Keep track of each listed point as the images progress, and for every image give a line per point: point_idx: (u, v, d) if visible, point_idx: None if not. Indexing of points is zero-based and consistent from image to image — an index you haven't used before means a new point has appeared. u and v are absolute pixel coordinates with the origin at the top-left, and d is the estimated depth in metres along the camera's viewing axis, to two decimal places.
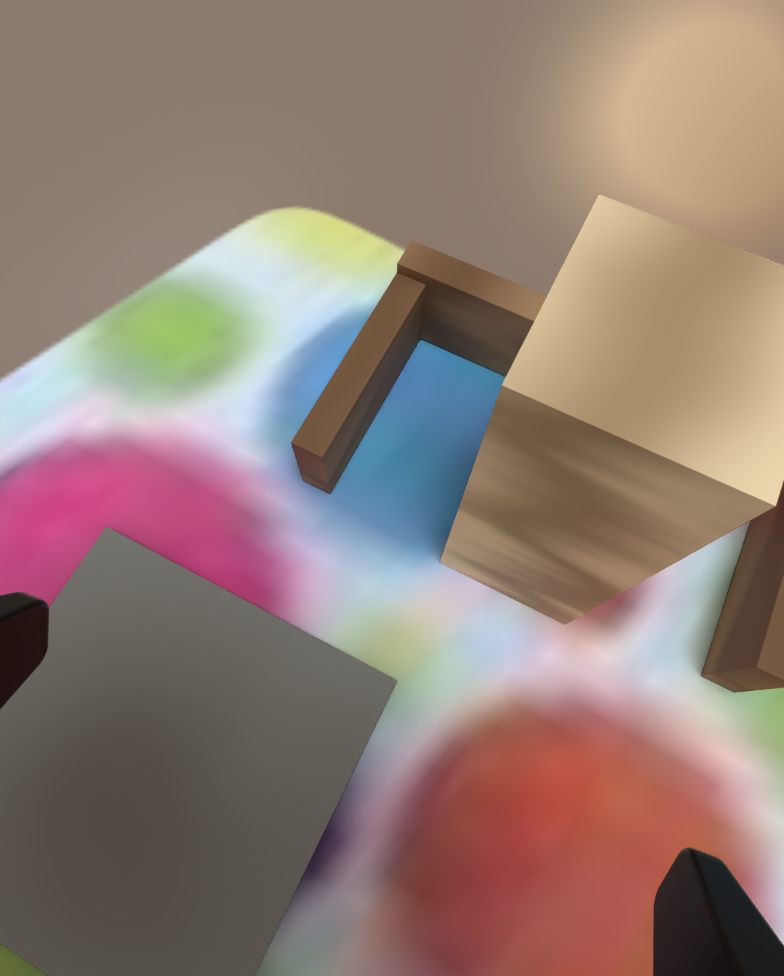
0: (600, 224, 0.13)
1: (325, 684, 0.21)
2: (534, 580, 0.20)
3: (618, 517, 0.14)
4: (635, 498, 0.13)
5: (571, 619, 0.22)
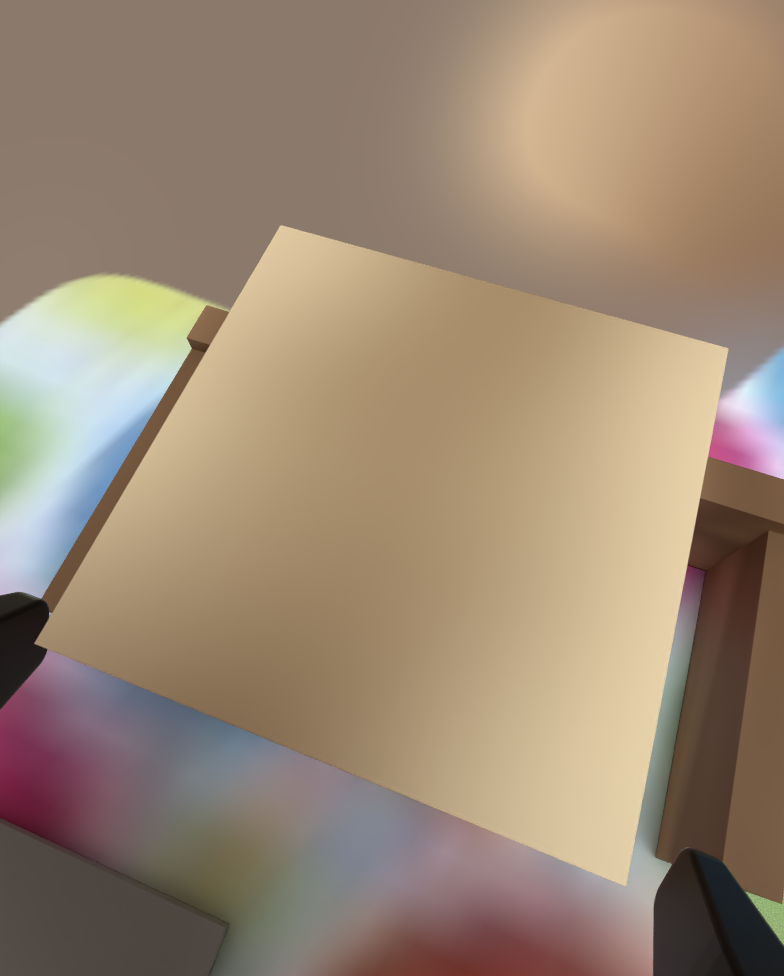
0: (278, 278, 0.07)
1: (121, 948, 0.15)
2: None
3: None
4: None
5: None
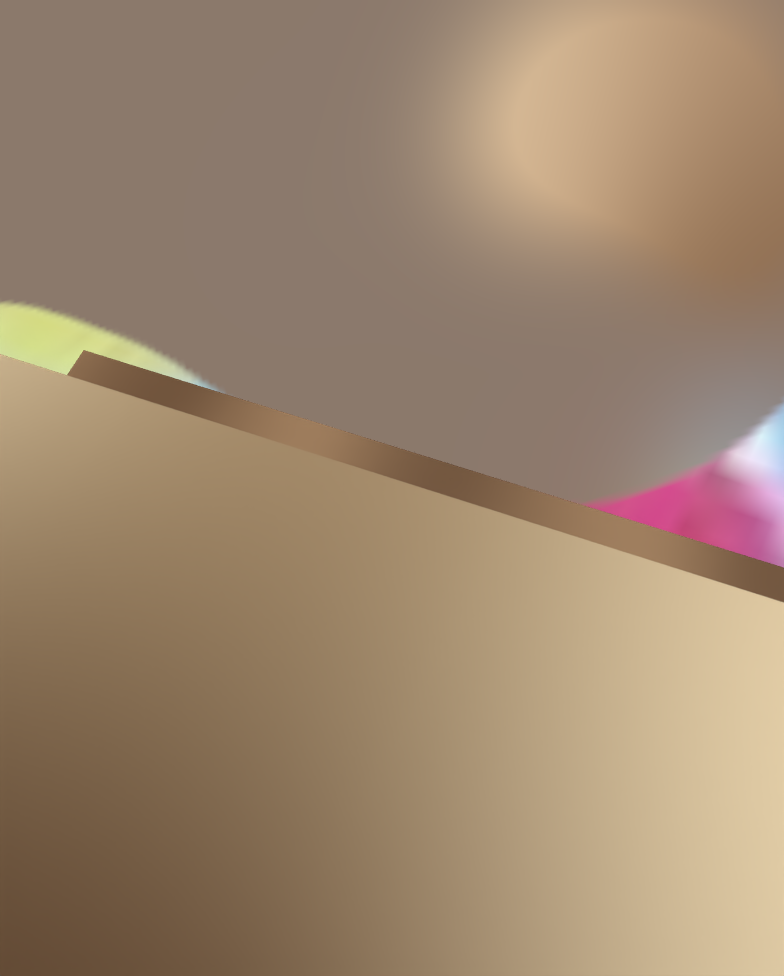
0: None
1: None
2: None
3: None
4: None
5: None
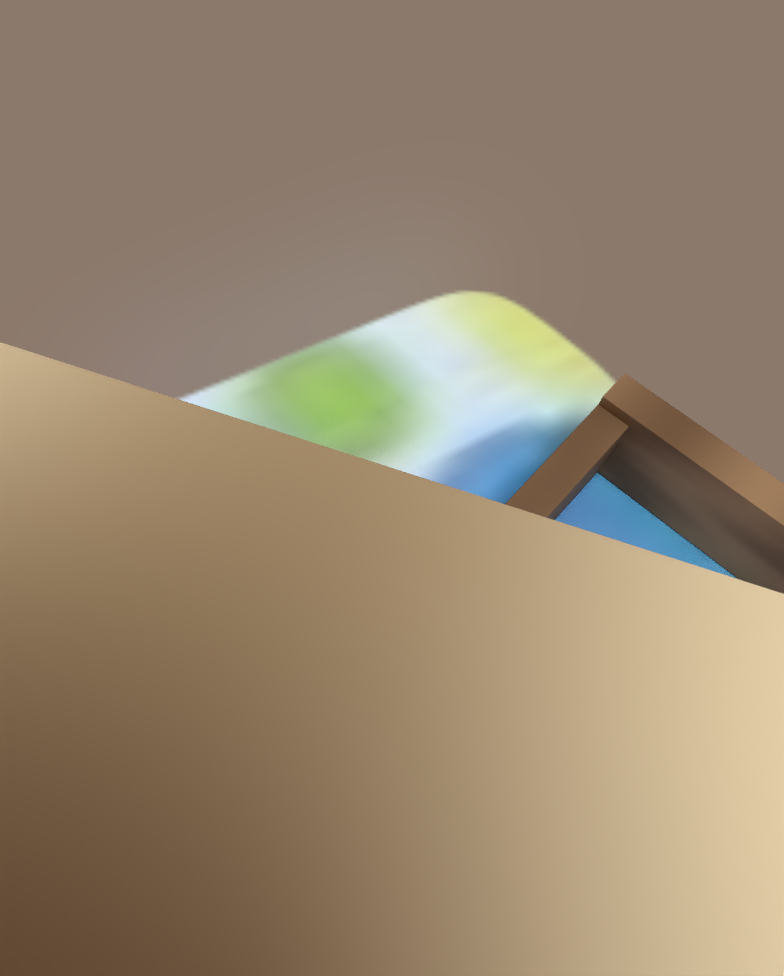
0: None
1: None
2: None
3: None
4: None
5: None
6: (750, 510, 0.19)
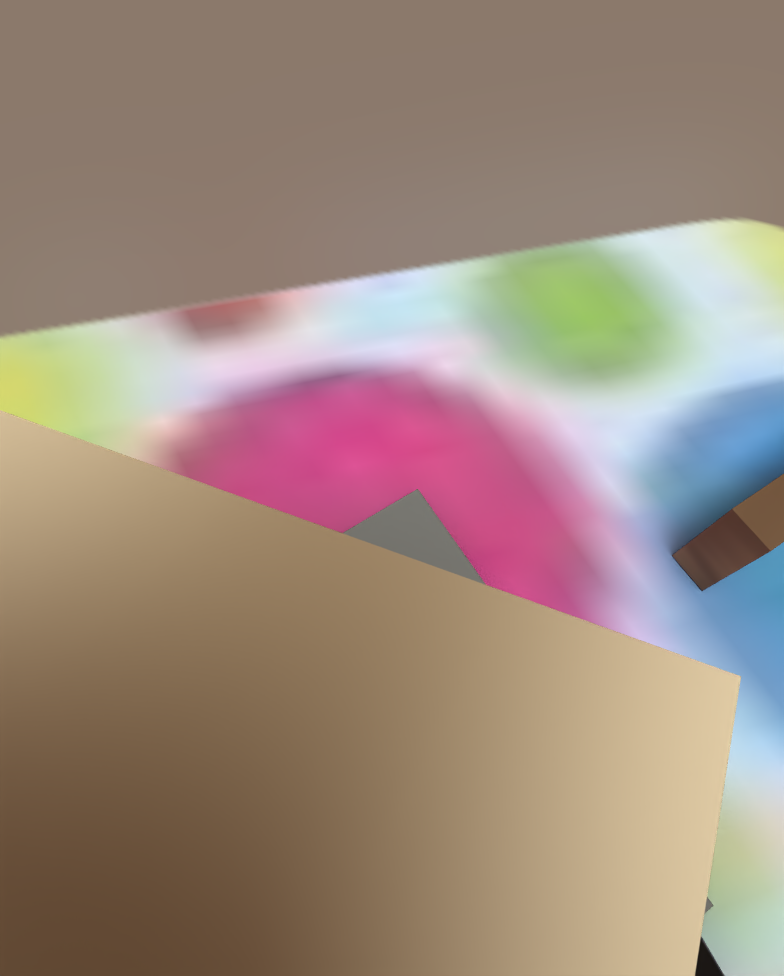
0: None
1: None
2: None
3: None
4: None
5: None
6: None
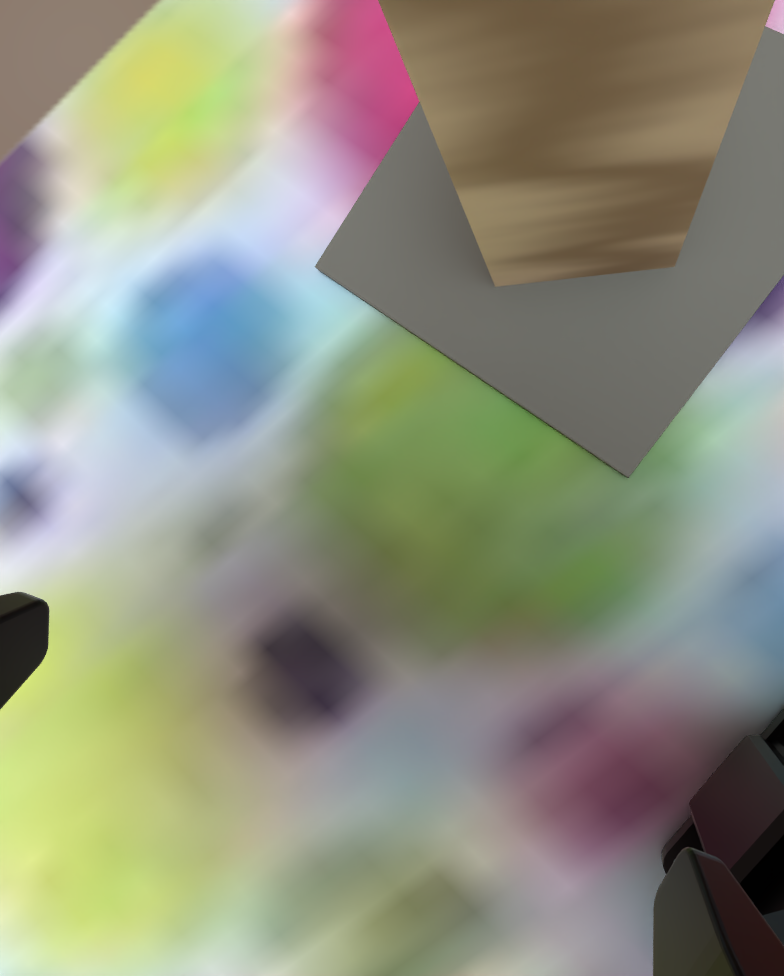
0: None
1: None
2: (603, 228, 0.15)
3: (639, 19, 0.09)
4: None
5: (677, 253, 0.17)
6: None
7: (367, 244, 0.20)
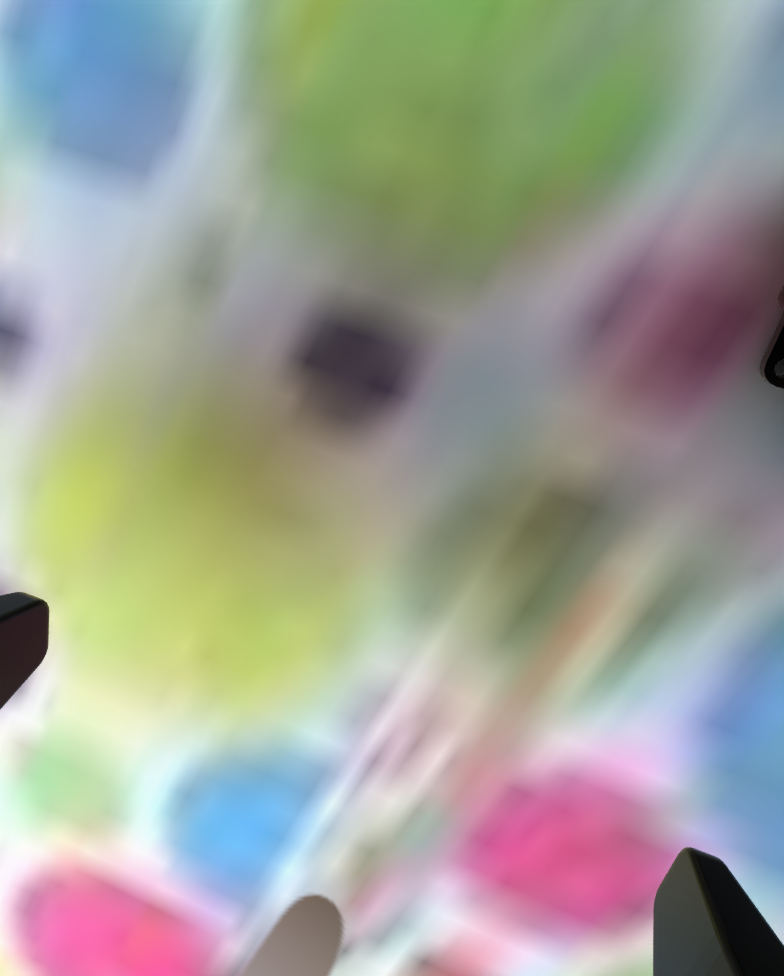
0: None
1: None
2: None
3: None
4: None
5: None
6: None
7: None
